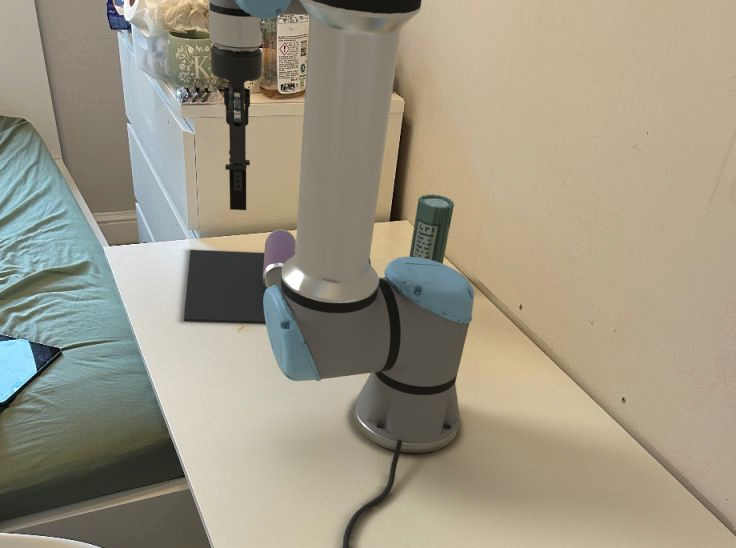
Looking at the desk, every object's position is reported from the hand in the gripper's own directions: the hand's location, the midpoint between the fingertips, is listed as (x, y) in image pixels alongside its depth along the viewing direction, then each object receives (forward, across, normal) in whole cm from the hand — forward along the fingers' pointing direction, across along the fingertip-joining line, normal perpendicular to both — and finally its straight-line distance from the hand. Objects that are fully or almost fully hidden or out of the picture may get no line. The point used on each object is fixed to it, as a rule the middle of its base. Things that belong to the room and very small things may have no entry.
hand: (238, 208), depth 124 cm
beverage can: (+10, -5, -7) cm, 13 cm away
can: (+14, +4, -35) cm, 38 cm away
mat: (+14, -1, 0) cm, 14 cm away
